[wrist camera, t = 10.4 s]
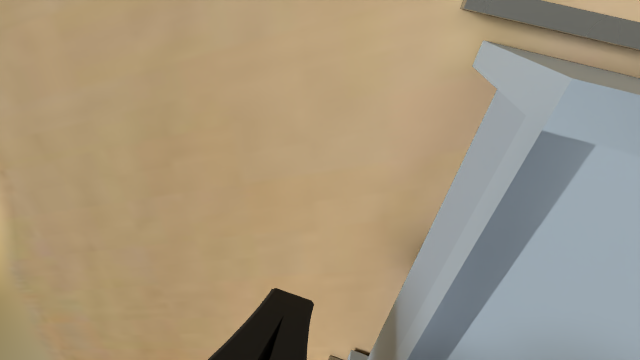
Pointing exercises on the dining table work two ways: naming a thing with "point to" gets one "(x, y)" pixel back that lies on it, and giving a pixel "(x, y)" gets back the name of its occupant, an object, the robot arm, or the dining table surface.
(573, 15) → the pin seat
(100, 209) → the dining table surface
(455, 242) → the housing
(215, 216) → the dining table surface
